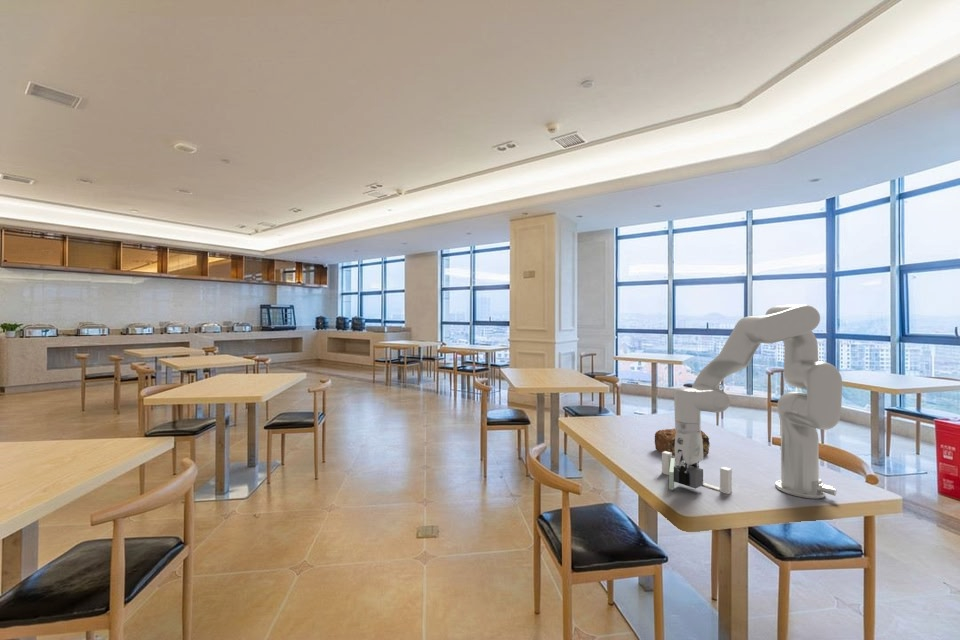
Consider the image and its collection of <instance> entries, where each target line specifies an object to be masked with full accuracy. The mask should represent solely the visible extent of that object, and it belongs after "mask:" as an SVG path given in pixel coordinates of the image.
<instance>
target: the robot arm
mask: <svg viewBox="0 0 960 640" xmlns="http://www.w3.org/2000/svg"><path fill="white" fill-rule="evenodd" d="M820 321H821V314H820V312H819V311H818V310H817V309H816V308H815V307H813V306H812V305H808V304H785V305H784V304H783V305H782V304H781V305H775V306H772V307H770V308H769V309H767V310H766V313H765V315H754V316H752V315H751V316H750V315H749V316H745V317H741V318H740V319H739V320H738V321H737V322H736V324H735V326H734V328H733V329H732V331H731V332H730V335H729V336H728V338H727V340H726V342H725V344H724V345H723V346H722V348H721V350H720V352H719V354H718V355H717V356H716V357H714V358H713V359H712V360H711V361H710V362H709V363H708V364H706V365H705V366H704V368H702V370H701V371H700V372H699V373H698V375H697V376H696V378H695V380H694V382H693V384H692V385H691V387H677V388H675V390H674V392H673V393H674V394H673V396H674V397H673V401H674V428H675V430H676V435H675V466H676V467H677V468H678V471H679V483H678V484H680V485H683V486H686V487H689V485H690V476H689V473H688V469H689V465H690V466H693V467H697V468H700V464H699V463H700V462H701V461H703V459H704V456H705V455H703V441H702V435H701V431H702V429H701V428H702V426H701V423H702V422H701V419H702V418H701V412H708V413H715V414H717V413H722V412H725V411H726V410H727V409H729V407H730V405H731V398H730V396H729V395H728V394H727V393H726V392H725V391H724V390H721V389H718V387H719V385H720V384H721V382H722V381H724V380H725V379H727V377H728V376H731V375H732V374H735V373H738V372H741V371H743V370H745V369H746V368H747V367H748V366H749V364H750V363H751V360H752V358H753V357H754V356H755V354H756V351H757V350H758V348H759V347H760V345H761V344H773V343H778V342H781V341H782V342H783V347H784V348H783V349H784V360H783V362H784V363H783V378H784V381H785V382H786V384H788V385H789V386H791V387H794V388H797V389H801V390H805V391H806V392H801V391H788V392H785V393H783V394H782V395H781V396H780V397H779V398H778V400H777V405H776V406H777V414H778V417H779V422H780V479H778V480H776V481H775V482H774V483H775V488H776V489H777V490H779V491H781V492H782V493H786V494H788V495H792V496H796V497H799V498H806V499H815V500H816V499H818V500H819V499H823V498H825V497H826V494H827V495H830V496H836V495H837V489H835V488H834V486H831V485H827V484H824V483H823V479H822V478H819V473H820V472H819V470H820V469H819V468H820V467H819V465H820V464H819V454H820V453H819V442H820V441H819V440H820V439H819V434H818V430H821V431H822V430H823V431H825V430H831V429H833V428H834V427H836V426H838V425H837V424H839V422H840V419H841V417H842V416H841V414H842V403H843V402H842V399H843V379H842V375H841V373H840V371H839V369H837V366H834V365H833V364H832V363H830V362H826V361H822V360H819V349H818V348H819V346H818V340H817V337H816V335H815V333H814V332H813V330H815V329H816V328H817V327H818V325H819V324H820ZM682 464H684V465H685V467H684V466H682Z"/></svg>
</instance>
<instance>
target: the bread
mask: <svg viewBox="0 0 960 640" xmlns="http://www.w3.org/2000/svg"><path fill="white" fill-rule="evenodd" d="M675 435H676V430H675V427H674V428H666V429H659V430H657V431H656V432H655V433H654V446H655V450H656V451H658V452H659V453H662V452H664V451H667V452H671V453H672V456H675ZM701 435H702V441H703V455H704V456H705V455H708V454H709V453H710V452H709V451H710V446H711V443H710V438H709V436H708V435H707V434H706V433H705V432H704V431H703V430H701Z"/></svg>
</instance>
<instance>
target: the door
mask: <svg viewBox="0 0 960 640" xmlns="http://www.w3.org/2000/svg"><path fill="white" fill-rule="evenodd" d="M675 461H676V460H675V456H671V462H670V470H669V475H668V479H669V481H668V483H669V484H668V489H669V490H673V491H674V488H675V487H674V486H675V482H674V466H675Z"/></svg>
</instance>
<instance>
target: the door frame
mask: <svg viewBox="0 0 960 640" xmlns="http://www.w3.org/2000/svg"><path fill="white" fill-rule="evenodd" d="M671 456H672V453H671V452H667V451H664V452H661V473H662V474H664V475H668V476H669V470H670V462H671ZM732 472H733V468H730V467H726V466H722V467H720V468H719V474H720V475H719V477H720V478H719V481H720V482H719V486H720V487H719V486H716V485H713V484H709V483H706V482H703V485H702V486H703V487H705V488H709V489H712V490H714V491H718V492H720V493H724V494H727V495H729V494H731V493H732V492H733V487H732V486H733V483H732V480H733V477H732Z"/></svg>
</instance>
